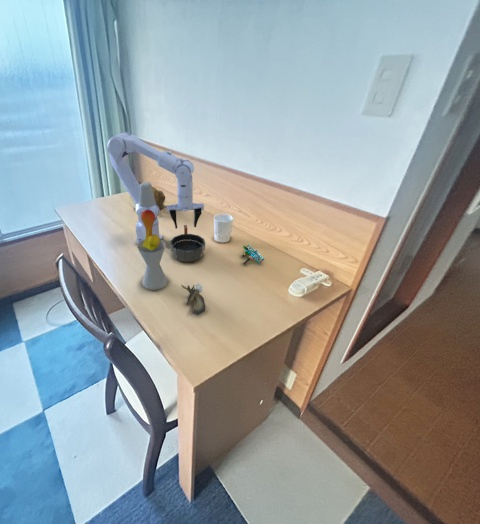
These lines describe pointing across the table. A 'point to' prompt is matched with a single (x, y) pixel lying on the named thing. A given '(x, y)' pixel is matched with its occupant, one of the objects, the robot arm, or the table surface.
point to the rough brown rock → (157, 195)
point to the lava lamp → (151, 242)
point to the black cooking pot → (187, 246)
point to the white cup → (222, 227)
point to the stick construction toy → (251, 254)
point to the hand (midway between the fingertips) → (185, 226)
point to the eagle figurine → (196, 298)
